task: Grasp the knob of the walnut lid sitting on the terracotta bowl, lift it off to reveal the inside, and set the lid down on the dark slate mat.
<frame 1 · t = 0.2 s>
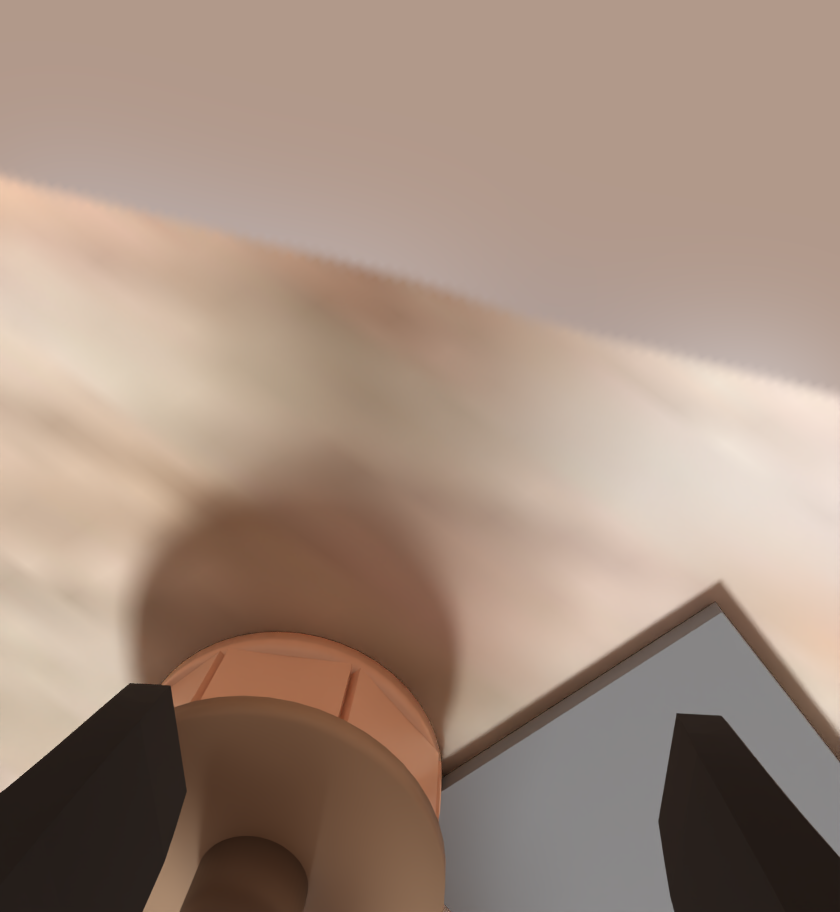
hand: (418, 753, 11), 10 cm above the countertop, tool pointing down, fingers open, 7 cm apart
bowl: (289, 768, 24), on the countertop
lid: (260, 857, 21), point 3 cm above the countertop, touching bowl
mat: (656, 854, 24), on the countertop
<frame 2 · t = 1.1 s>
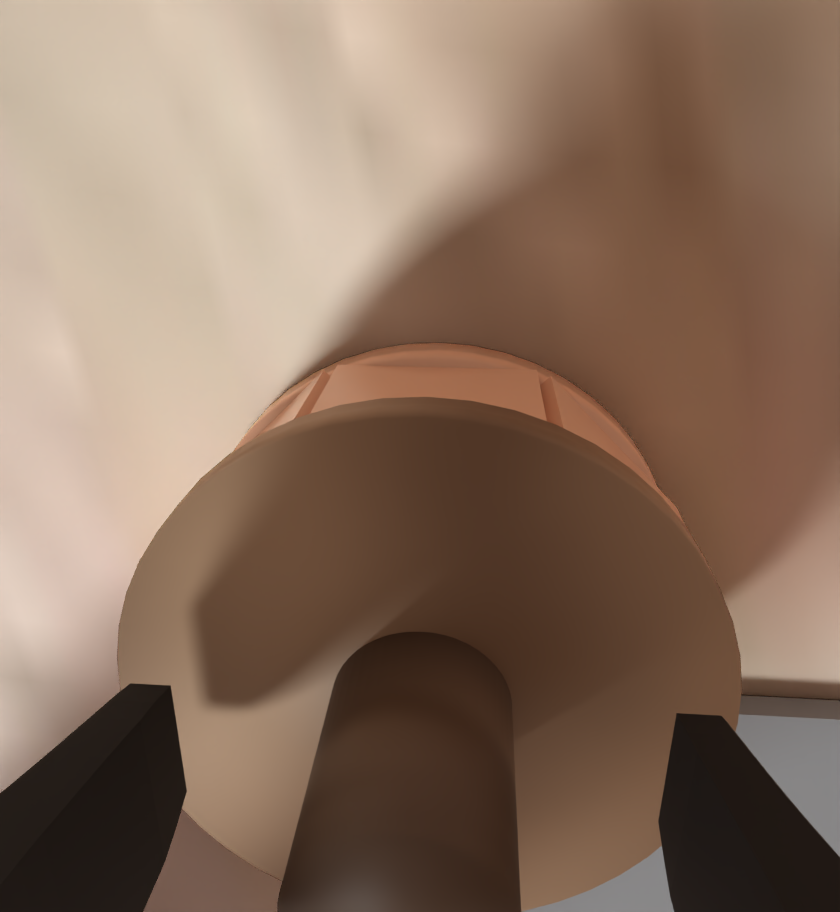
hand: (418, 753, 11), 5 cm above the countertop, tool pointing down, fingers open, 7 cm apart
bowl: (436, 561, 16), on the countertop
lid: (424, 672, 13), point 3 cm above the countertop, touching bowl
mat: (718, 892, 20), on the countertop
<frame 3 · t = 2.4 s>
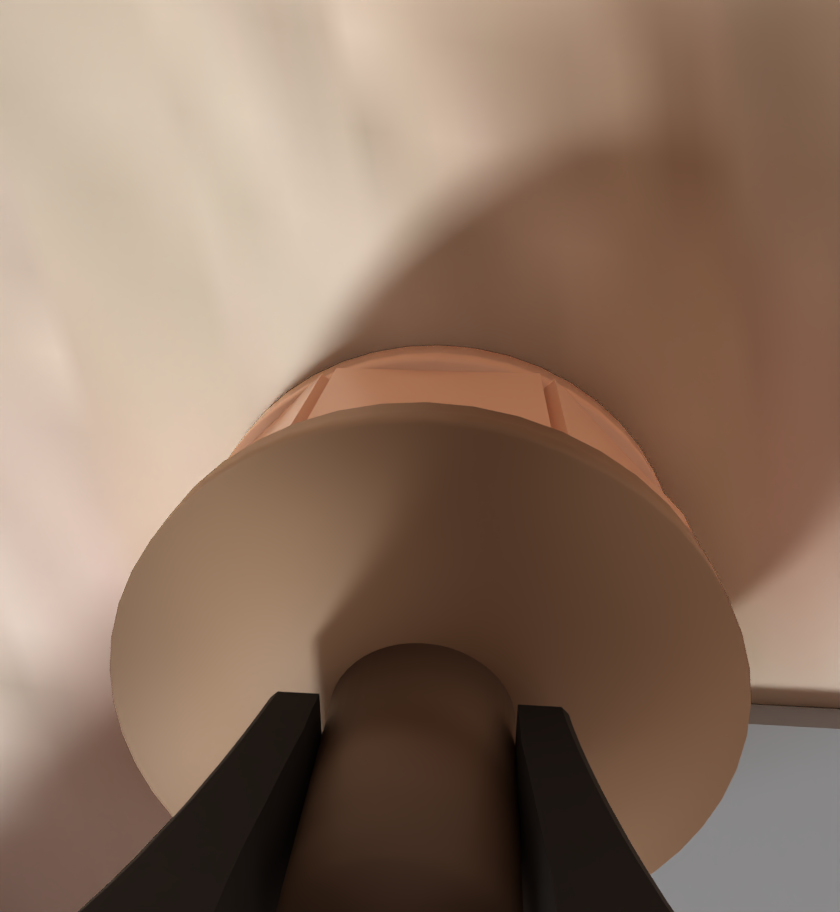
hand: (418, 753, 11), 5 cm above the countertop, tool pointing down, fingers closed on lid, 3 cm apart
bowl: (437, 568, 16), on the countertop
lid: (425, 683, 13), point 3 cm above the countertop, touching bowl, gripper
mat: (724, 902, 19), on the countertop
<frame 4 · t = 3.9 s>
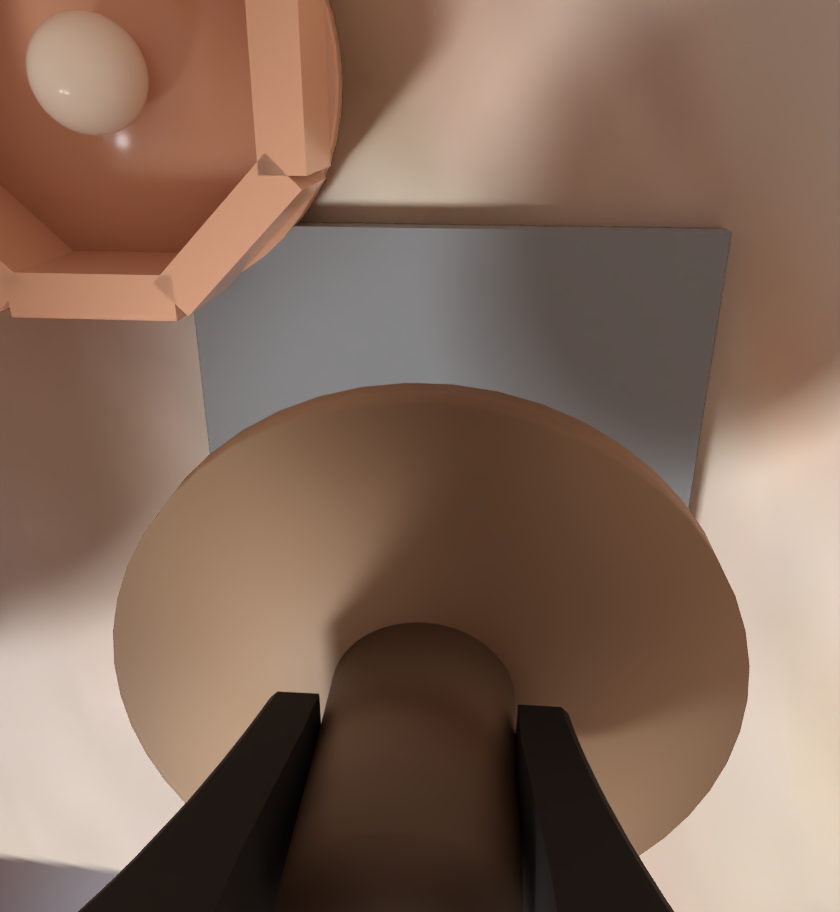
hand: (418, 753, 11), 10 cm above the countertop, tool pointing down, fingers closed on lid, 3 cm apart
bowl: (132, 77, 17), on the countertop
lid: (426, 662, 13), point 8 cm above the countertop, touching gripper
mat: (447, 466, 21), on the countertop
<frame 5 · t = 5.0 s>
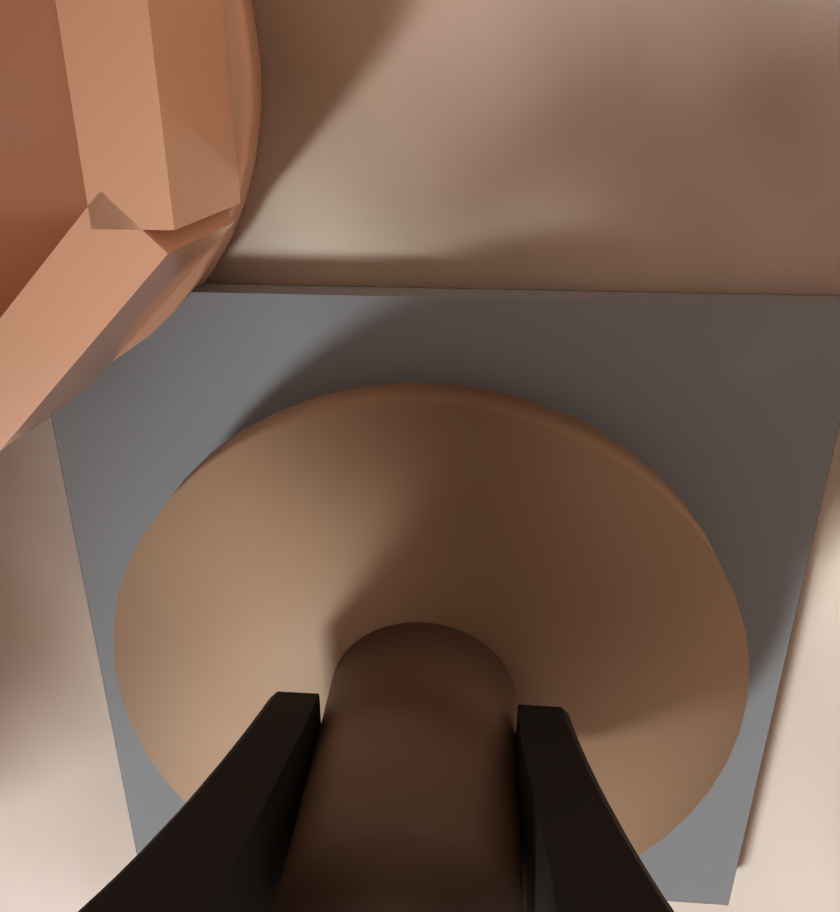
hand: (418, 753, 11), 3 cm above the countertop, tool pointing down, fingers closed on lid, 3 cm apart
lid: (426, 662, 13), point 1 cm above the countertop, touching gripper
mat: (430, 621, 14), on the countertop
when the fingers open (3 cm above the countertop, at t = 5.8 s): lid stays where it is, resting on mat.
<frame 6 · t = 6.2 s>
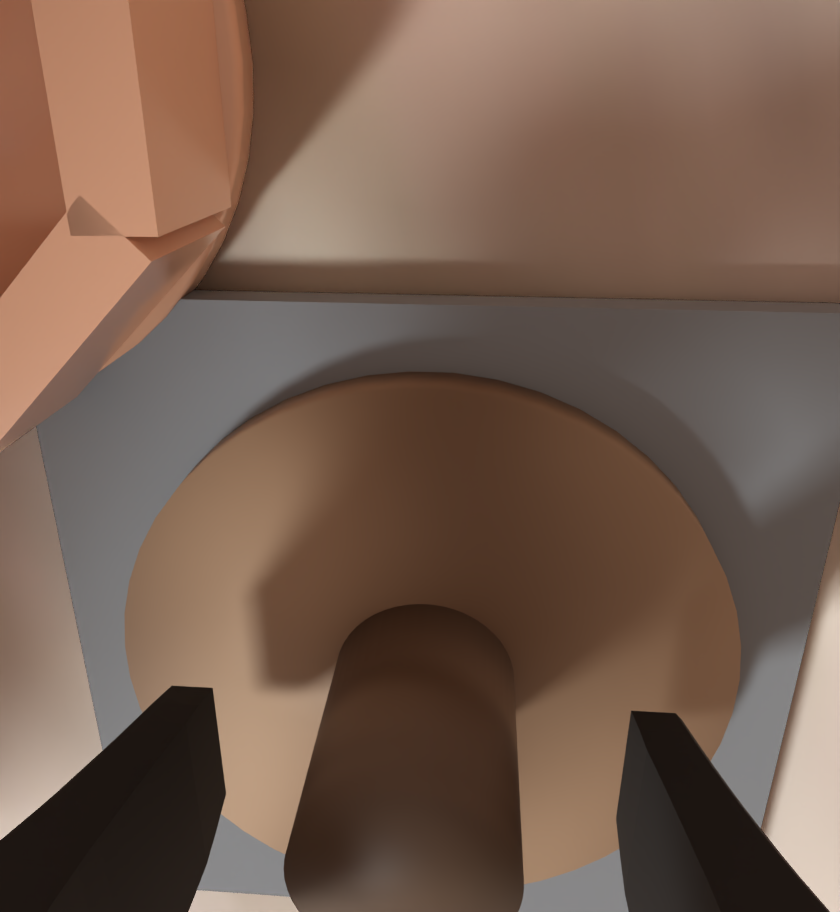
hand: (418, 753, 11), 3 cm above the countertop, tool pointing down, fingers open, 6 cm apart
lid: (427, 647, 13), point 1 cm above the countertop, touching mat
mat: (430, 638, 14), on the countertop
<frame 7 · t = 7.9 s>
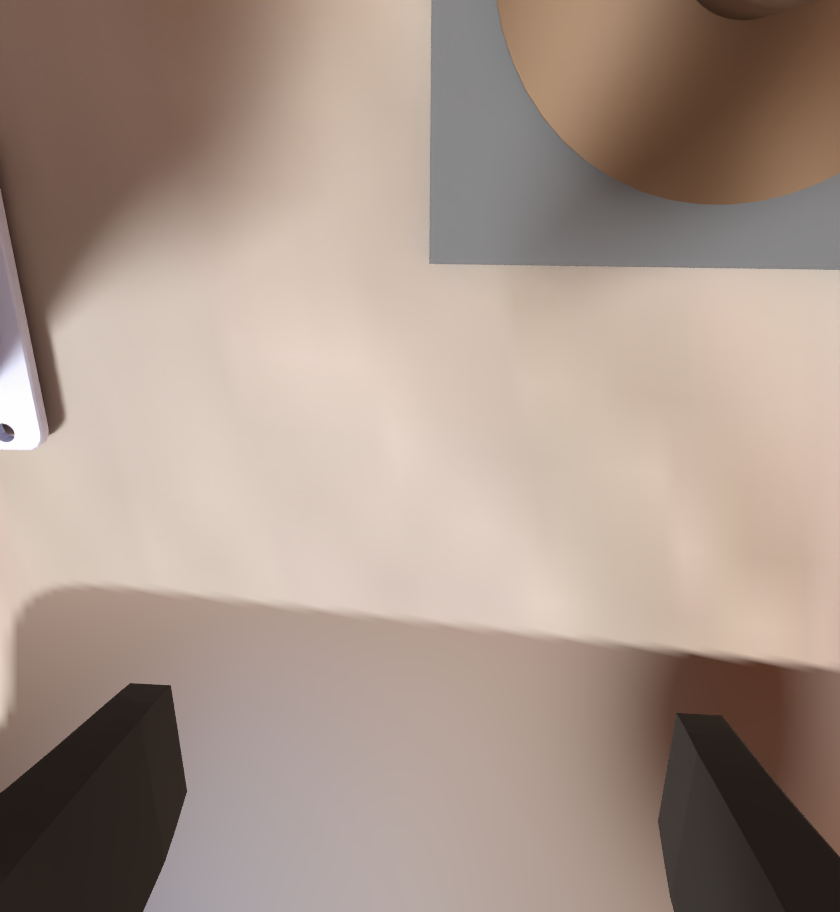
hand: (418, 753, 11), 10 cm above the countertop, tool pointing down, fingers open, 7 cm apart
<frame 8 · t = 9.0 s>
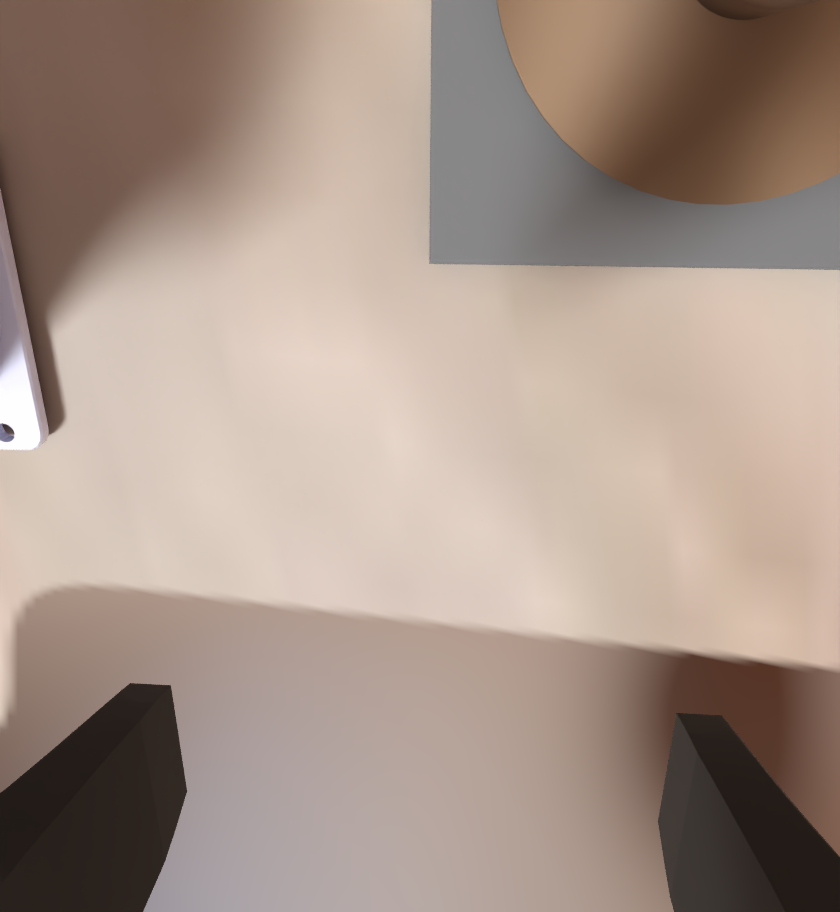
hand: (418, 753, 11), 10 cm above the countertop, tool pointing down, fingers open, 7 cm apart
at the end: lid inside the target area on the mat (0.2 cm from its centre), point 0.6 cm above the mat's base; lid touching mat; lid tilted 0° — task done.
